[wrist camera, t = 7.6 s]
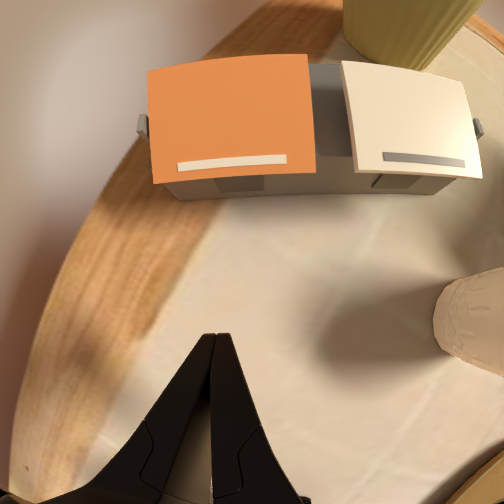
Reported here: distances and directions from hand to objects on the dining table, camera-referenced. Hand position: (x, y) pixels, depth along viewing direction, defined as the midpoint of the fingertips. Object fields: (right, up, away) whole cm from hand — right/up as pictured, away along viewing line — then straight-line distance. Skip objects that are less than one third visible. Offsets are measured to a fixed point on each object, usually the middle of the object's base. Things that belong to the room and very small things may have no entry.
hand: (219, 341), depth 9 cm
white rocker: (+11, +11, +5) cm, 16 cm away
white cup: (+19, -3, +11) cm, 22 cm away
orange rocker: (0, +10, +6) cm, 12 cm away
